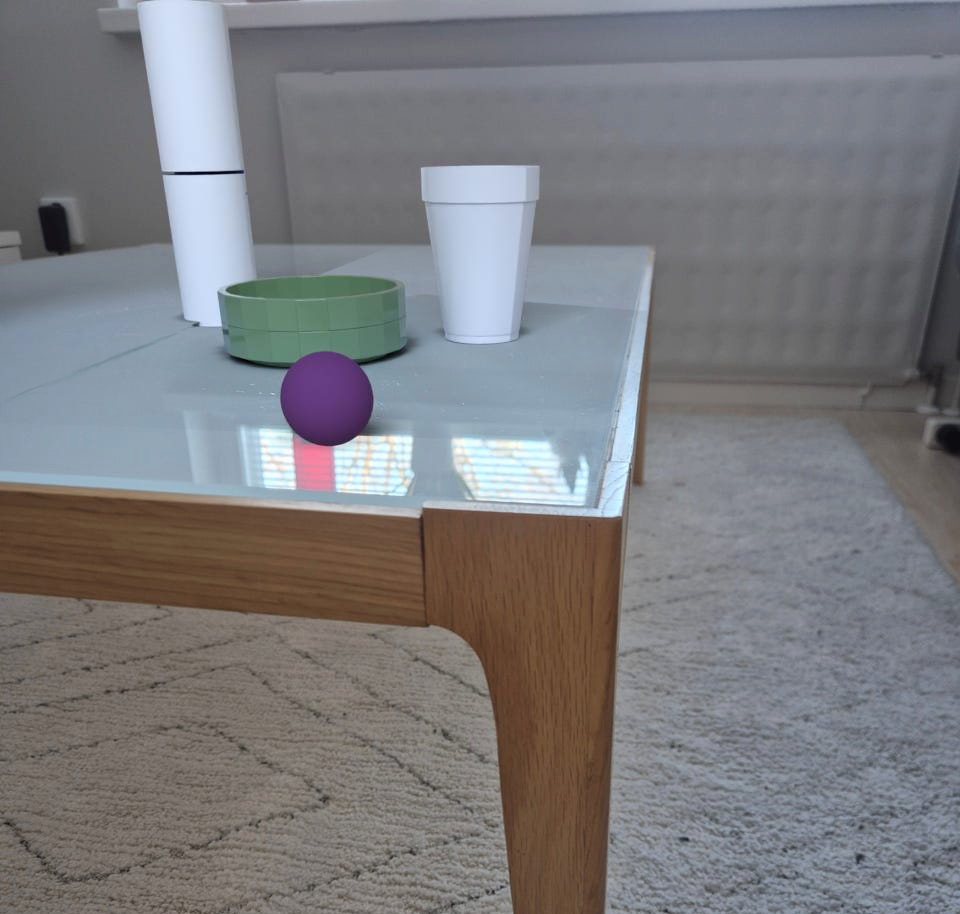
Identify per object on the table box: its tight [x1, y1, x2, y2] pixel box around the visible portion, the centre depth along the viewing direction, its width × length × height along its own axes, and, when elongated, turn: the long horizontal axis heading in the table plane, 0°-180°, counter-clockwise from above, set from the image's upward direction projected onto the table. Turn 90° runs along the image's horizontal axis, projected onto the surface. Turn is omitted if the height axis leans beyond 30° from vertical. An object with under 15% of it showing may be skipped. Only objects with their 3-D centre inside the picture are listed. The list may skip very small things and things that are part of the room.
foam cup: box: [420, 164, 541, 345], centre depth 77 cm, size 10×9×13 cm
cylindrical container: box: [136, 0, 258, 328], centre depth 84 cm, size 7×7×25 cm
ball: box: [279, 351, 375, 447], centre depth 51 cm, size 5×5×5 cm
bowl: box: [217, 274, 408, 368], centre depth 74 cm, size 14×14×5 cm
